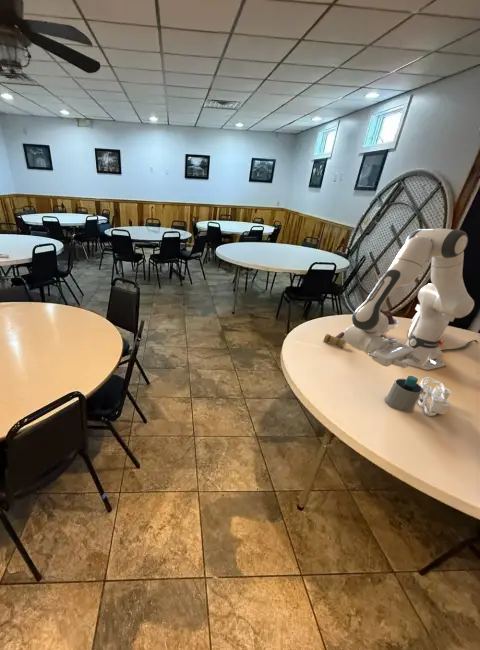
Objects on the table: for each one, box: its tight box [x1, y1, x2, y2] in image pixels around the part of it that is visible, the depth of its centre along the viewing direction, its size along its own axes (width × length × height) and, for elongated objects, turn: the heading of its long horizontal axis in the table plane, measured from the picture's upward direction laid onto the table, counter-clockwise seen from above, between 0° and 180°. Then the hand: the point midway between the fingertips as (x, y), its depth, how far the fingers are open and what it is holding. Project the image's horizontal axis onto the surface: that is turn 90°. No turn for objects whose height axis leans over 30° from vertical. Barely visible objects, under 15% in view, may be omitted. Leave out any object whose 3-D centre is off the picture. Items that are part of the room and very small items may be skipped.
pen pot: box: [385, 378, 424, 413], centre depth 129 cm, size 10×10×10 cm
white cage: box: [417, 376, 452, 417], centre depth 131 cm, size 20×11×7 cm, turn 144°
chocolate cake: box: [380, 308, 400, 336], centre depth 193 cm, size 25×25×15 cm
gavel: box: [323, 331, 346, 348], centre depth 181 cm, size 21×5×10 cm
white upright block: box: [407, 303, 456, 340], centre depth 193 cm, size 19×30×18 cm, turn 147°
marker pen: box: [402, 375, 419, 392], centre depth 127 cm, size 4×4×12 cm
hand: (413, 363), depth 123 cm, fingers open, 8 cm apart
